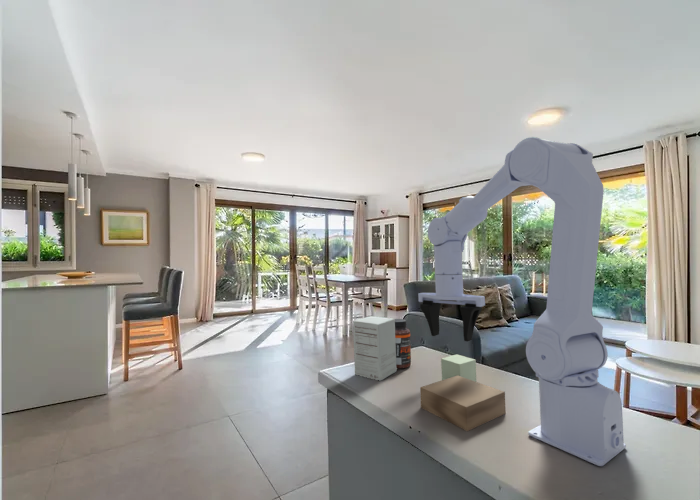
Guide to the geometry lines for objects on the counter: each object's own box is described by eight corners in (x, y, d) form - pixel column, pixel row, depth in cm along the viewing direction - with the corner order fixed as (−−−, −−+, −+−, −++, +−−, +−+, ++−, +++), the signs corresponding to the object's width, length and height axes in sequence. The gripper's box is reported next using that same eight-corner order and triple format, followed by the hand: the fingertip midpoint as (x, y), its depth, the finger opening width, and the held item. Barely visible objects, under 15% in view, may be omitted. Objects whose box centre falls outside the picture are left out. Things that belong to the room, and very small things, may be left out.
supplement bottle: (404, 371, 79) (402, 323, 80) (382, 366, 83) (381, 320, 83) (415, 364, 84) (413, 319, 84) (394, 360, 88) (393, 317, 88)
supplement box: (371, 366, 84) (370, 315, 84) (397, 372, 79) (395, 318, 79) (353, 375, 78) (351, 320, 78) (380, 381, 73) (378, 323, 73)
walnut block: (505, 415, 57) (504, 391, 57) (467, 433, 52) (466, 407, 52) (458, 396, 66) (457, 375, 66) (421, 409, 60) (420, 387, 60)
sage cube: (476, 383, 71) (475, 359, 71) (460, 389, 68) (459, 364, 68) (457, 376, 75) (456, 354, 75) (442, 381, 72) (441, 358, 72)
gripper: (490, 273, 70) (492, 339, 70) (429, 272, 80) (431, 329, 80) (475, 275, 65) (477, 346, 65) (412, 274, 75) (414, 335, 75)
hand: (451, 337), depth 72 cm, fingers open, 7 cm apart
